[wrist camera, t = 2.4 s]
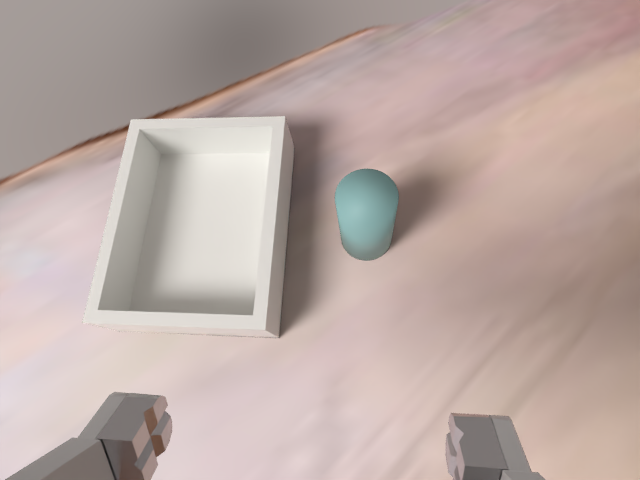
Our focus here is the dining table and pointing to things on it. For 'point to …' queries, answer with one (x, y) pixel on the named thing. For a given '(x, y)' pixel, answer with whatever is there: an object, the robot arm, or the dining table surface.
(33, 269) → the dining table surface
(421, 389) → the dining table surface
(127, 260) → the tote
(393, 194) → the teal cylinder
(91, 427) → the robot arm
